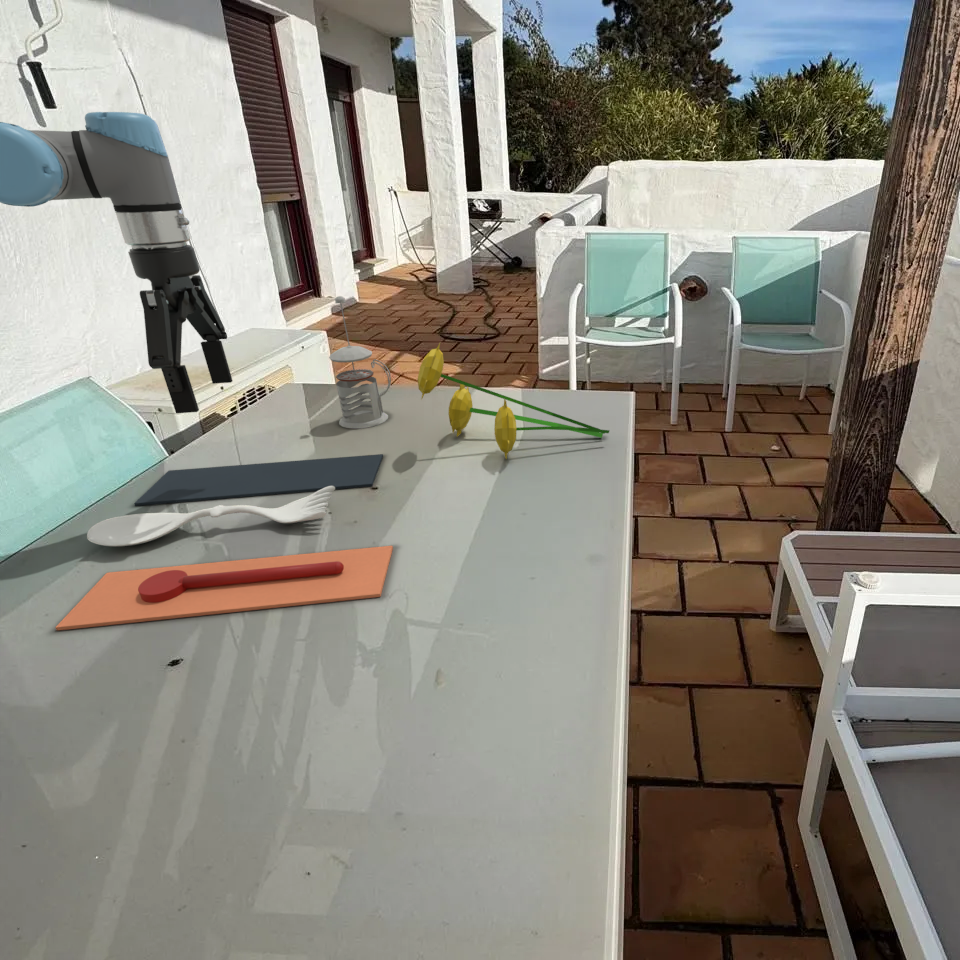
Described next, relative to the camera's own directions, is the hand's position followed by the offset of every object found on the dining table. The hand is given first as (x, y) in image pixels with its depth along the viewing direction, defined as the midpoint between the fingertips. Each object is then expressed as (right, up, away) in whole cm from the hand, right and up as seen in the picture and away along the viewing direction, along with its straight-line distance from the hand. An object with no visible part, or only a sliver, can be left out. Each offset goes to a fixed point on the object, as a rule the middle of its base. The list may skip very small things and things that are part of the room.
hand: (206, 396), depth 94 cm
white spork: (+3, -20, -2) cm, 20 cm away
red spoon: (+13, -25, -15) cm, 32 cm away
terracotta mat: (+13, -26, -15) cm, 33 cm away
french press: (+11, 0, +37) cm, 38 cm away
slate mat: (+3, -12, +12) cm, 18 cm away
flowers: (+43, -5, +25) cm, 50 cm away
